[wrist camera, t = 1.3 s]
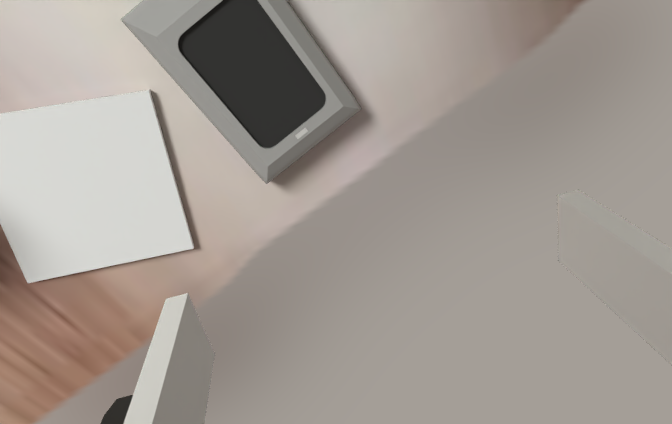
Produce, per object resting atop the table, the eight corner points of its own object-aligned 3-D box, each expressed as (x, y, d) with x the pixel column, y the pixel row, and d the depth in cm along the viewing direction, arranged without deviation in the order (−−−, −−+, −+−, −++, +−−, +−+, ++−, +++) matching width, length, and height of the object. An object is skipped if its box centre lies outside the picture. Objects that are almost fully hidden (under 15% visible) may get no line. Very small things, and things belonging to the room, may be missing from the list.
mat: (-42, 120, 33) (-47, 121, 32) (150, 89, 34) (148, 90, 34) (30, 279, 38) (27, 283, 37) (194, 245, 40) (193, 248, 39)
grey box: (233, -80, 29) (367, 112, 35) (232, -69, 32) (354, 104, 38) (116, 18, 30) (268, 190, 36) (127, 19, 33) (264, 176, 39)
